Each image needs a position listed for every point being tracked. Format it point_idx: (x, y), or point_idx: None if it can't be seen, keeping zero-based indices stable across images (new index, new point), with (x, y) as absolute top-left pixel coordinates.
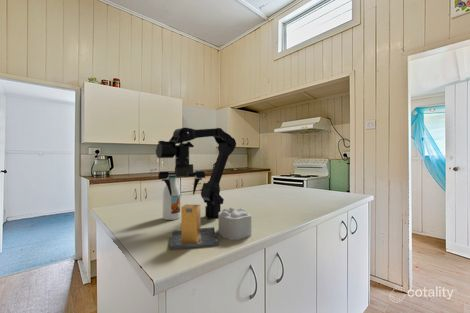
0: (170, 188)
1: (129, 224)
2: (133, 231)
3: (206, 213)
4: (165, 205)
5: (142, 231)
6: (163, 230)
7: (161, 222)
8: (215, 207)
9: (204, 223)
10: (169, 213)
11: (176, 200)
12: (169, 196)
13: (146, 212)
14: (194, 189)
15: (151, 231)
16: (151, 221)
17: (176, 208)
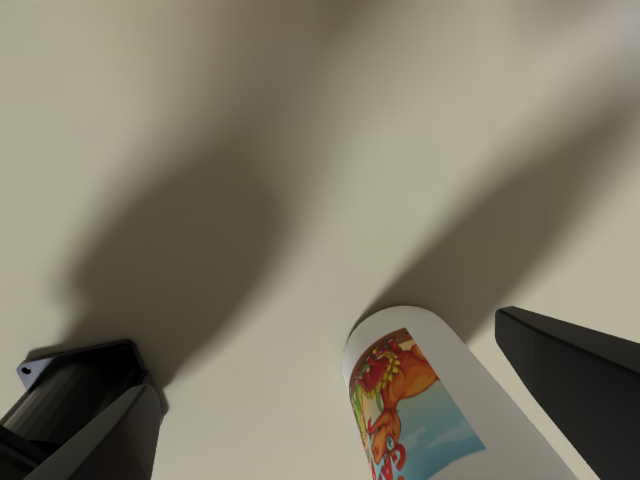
0: (622, 361)
1: (631, 226)
2: (597, 75)
3: (135, 383)
4: (484, 373)
5: (542, 69)
6: (406, 77)
7: (447, 261)
8: (15, 420)
9: (128, 227)
10: (420, 327)
11: (405, 428)
12: (501, 443)
13: (560, 453)
14: (68, 458)
15: (484, 62)
16: (511, 283)
17: (380, 370)
